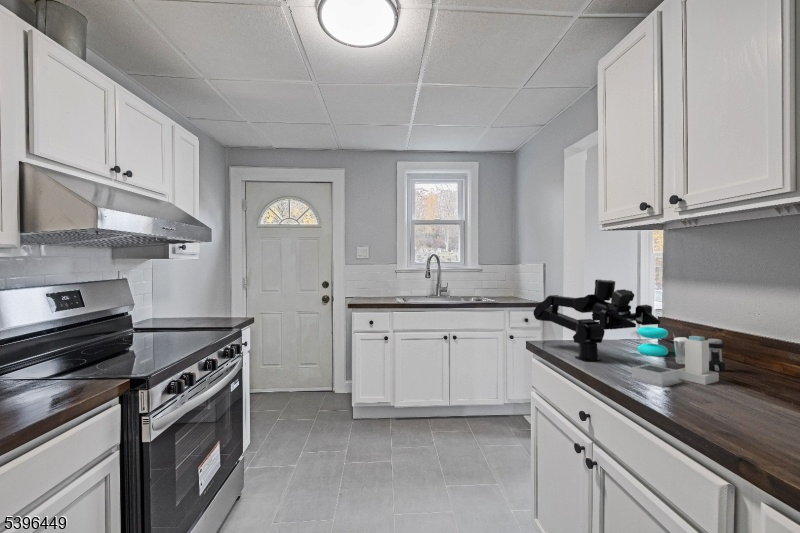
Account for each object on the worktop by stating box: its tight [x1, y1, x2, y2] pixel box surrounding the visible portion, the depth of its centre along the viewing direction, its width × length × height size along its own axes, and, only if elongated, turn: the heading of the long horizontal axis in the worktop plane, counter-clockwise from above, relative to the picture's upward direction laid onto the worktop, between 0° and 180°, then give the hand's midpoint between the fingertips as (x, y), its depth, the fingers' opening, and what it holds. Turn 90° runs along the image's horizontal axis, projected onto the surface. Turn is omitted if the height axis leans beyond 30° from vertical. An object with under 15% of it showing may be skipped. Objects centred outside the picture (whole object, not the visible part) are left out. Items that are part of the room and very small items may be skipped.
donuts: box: [637, 326, 669, 357], centre depth 155 cm, size 10×10×10 cm
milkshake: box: [672, 333, 688, 365], centre depth 141 cm, size 5×5×10 cm
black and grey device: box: [707, 338, 726, 372], centre depth 132 cm, size 7×5×10 cm
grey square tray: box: [676, 367, 720, 386], centre depth 121 cm, size 8×8×2 cm
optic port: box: [628, 363, 683, 388], centre depth 120 cm, size 10×10×4 cm
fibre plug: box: [684, 335, 710, 375], centre depth 121 cm, size 4×4×13 cm
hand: (647, 324), depth 123 cm, fingers open, 9 cm apart
